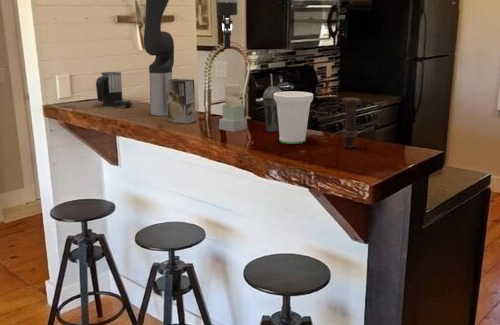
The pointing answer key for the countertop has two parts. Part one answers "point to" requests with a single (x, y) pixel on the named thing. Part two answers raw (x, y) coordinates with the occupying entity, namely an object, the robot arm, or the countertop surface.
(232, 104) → the birch block
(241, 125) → the slab
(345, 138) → the bolt
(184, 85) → the coffee box
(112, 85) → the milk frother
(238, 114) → the sage cube
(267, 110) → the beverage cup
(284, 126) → the cup
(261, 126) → the countertop surface
